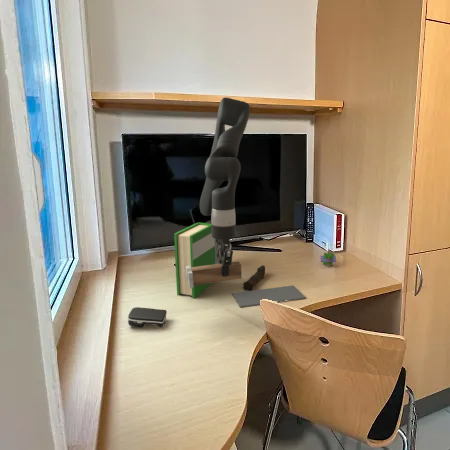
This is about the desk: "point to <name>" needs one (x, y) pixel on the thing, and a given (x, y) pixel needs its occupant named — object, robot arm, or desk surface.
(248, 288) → the dark brown bar
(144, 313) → the battery charger
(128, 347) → the desk surface
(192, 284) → the stick
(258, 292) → the mat
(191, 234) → the hardback book
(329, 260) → the geometric puzzle
